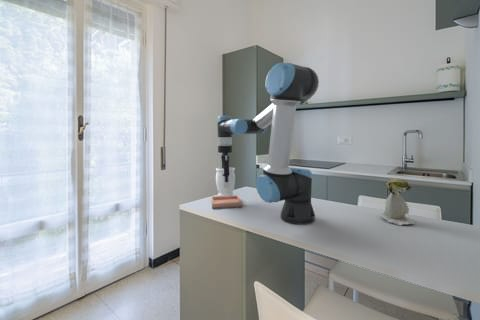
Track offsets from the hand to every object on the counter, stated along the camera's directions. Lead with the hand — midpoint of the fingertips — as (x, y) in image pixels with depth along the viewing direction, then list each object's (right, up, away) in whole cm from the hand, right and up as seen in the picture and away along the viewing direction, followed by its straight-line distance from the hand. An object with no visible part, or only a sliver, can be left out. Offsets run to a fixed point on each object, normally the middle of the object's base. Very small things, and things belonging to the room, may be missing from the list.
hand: (225, 185), depth 136 cm
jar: (0, -5, +1) cm, 6 cm away
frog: (+77, -13, -27) cm, 83 cm away
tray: (0, -10, +1) cm, 10 cm away
